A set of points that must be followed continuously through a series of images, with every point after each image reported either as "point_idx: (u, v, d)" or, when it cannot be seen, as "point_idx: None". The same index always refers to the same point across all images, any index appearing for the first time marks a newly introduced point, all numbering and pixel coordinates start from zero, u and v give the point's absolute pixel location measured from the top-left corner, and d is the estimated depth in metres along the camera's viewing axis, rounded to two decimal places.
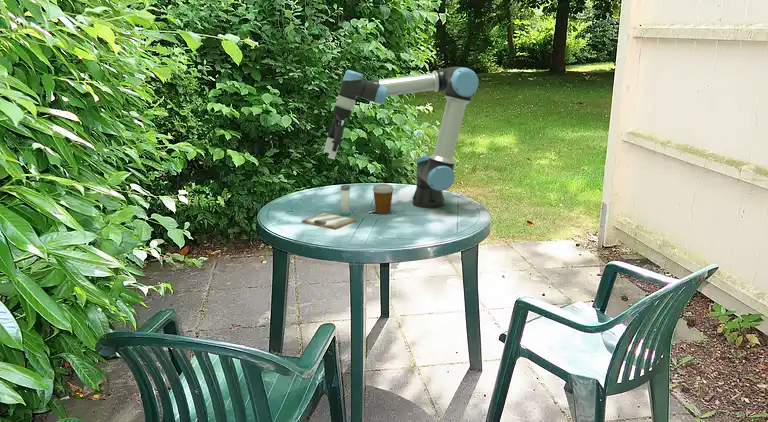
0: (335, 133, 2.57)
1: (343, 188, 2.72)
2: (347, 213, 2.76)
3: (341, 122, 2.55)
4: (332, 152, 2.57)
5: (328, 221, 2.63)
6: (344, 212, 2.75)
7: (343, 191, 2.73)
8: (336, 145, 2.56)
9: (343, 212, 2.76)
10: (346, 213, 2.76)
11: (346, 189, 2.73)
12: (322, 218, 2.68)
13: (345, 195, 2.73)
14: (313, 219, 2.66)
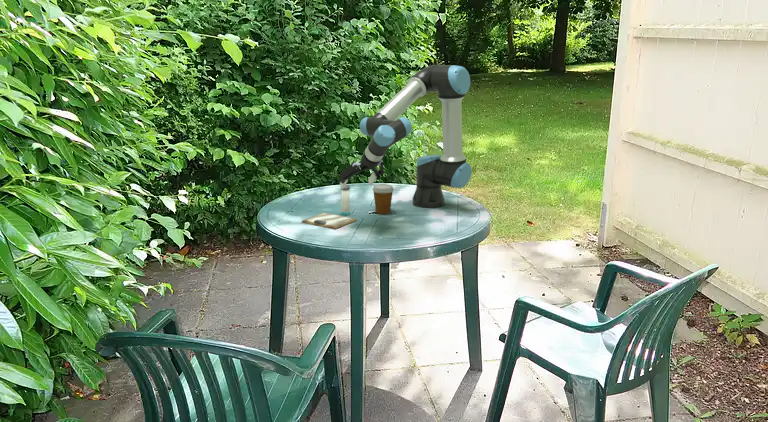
0: (376, 171, 2.59)
1: (343, 188, 2.72)
2: (347, 213, 2.76)
3: None
4: None
5: (328, 221, 2.63)
6: (344, 212, 2.75)
7: (343, 191, 2.73)
8: None
9: (343, 212, 2.76)
10: (346, 213, 2.76)
11: (346, 189, 2.73)
12: (322, 218, 2.68)
13: (345, 195, 2.73)
14: (313, 219, 2.66)
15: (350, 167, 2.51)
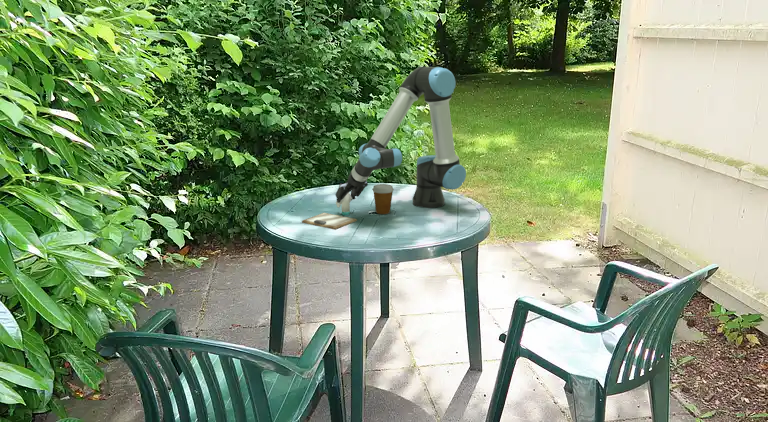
0: (356, 192, 2.72)
1: None
2: (347, 213, 2.76)
3: None
4: None
5: (328, 221, 2.63)
6: (344, 212, 2.75)
7: None
8: None
9: (343, 212, 2.76)
10: (346, 213, 2.76)
11: None
12: (322, 218, 2.68)
13: None
14: (313, 219, 2.66)
15: (339, 189, 2.66)
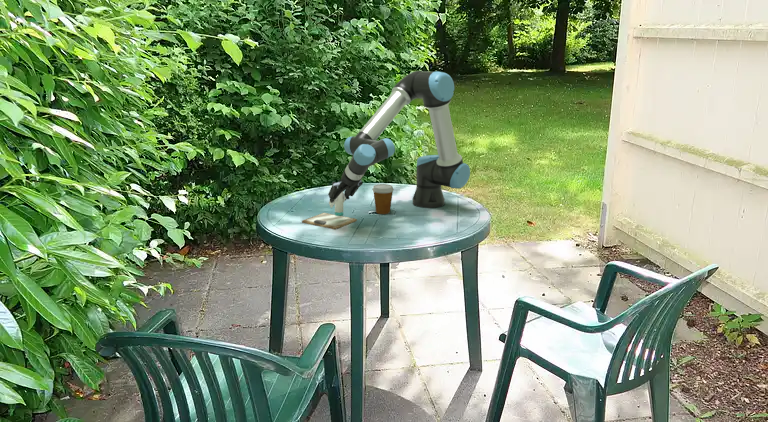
0: (350, 192, 2.58)
1: None
2: (340, 214, 2.62)
3: None
4: None
5: (328, 221, 2.63)
6: (337, 212, 2.61)
7: None
8: None
9: (336, 212, 2.62)
10: (339, 214, 2.61)
11: None
12: (322, 218, 2.68)
13: None
14: (313, 219, 2.66)
15: (332, 188, 2.52)
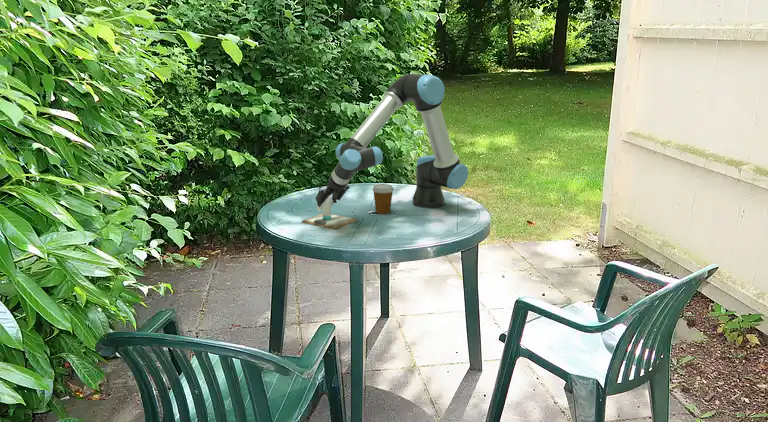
0: (337, 196, 2.61)
1: None
2: (328, 217, 2.64)
3: None
4: None
5: (328, 221, 2.63)
6: (325, 216, 2.64)
7: None
8: None
9: (324, 216, 2.64)
10: (327, 217, 2.64)
11: None
12: (322, 218, 2.68)
13: None
14: (313, 219, 2.66)
15: (319, 192, 2.55)
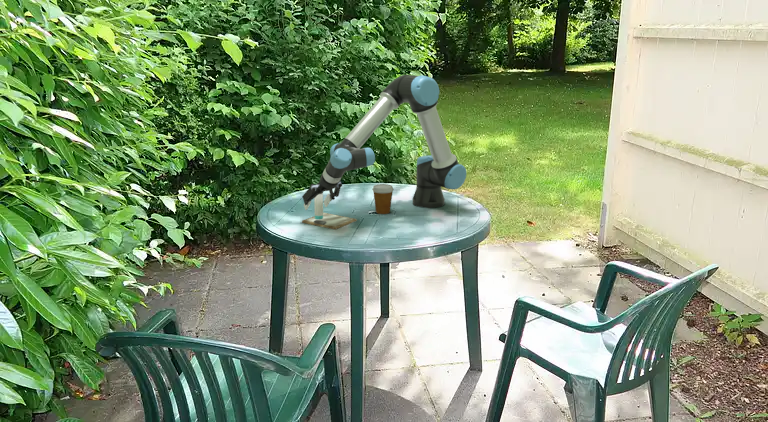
0: (332, 193, 2.63)
1: None
2: (320, 217, 2.66)
3: None
4: None
5: (328, 221, 2.63)
6: (317, 216, 2.66)
7: None
8: None
9: (316, 216, 2.66)
10: (319, 217, 2.66)
11: None
12: None
13: (318, 198, 2.64)
14: (313, 219, 2.66)
15: (310, 190, 2.55)
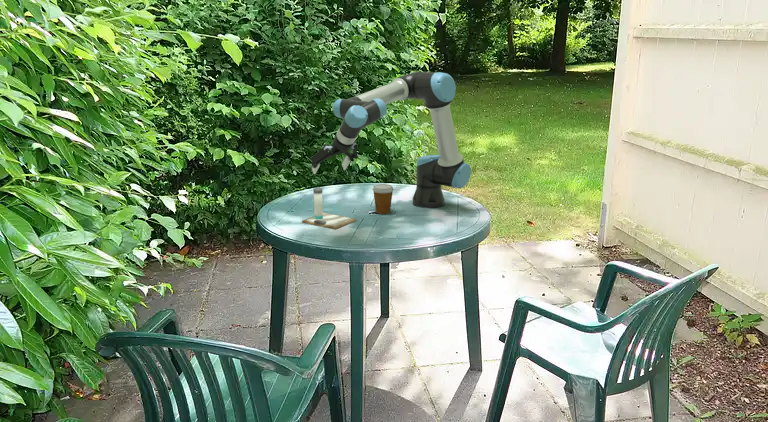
0: (350, 155, 2.47)
1: (316, 191, 2.63)
2: (320, 217, 2.66)
3: None
4: None
5: (328, 221, 2.63)
6: (317, 216, 2.66)
7: (315, 194, 2.64)
8: None
9: (316, 216, 2.66)
10: (319, 217, 2.66)
11: (318, 192, 2.63)
12: None
13: (317, 198, 2.64)
14: (313, 219, 2.66)
15: (322, 151, 2.39)
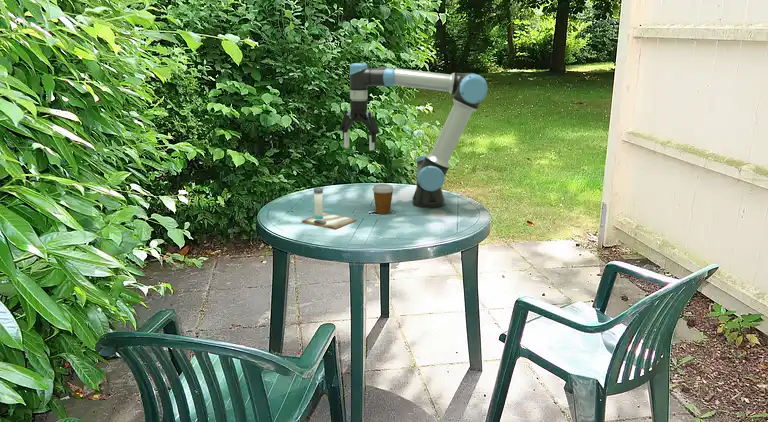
0: (367, 126, 2.68)
1: (316, 191, 2.63)
2: (320, 217, 2.66)
3: (371, 114, 2.67)
4: (372, 144, 2.70)
5: (328, 221, 2.63)
6: (317, 216, 2.66)
7: (316, 194, 2.64)
8: (375, 136, 2.69)
9: (316, 216, 2.66)
10: (319, 217, 2.66)
11: (319, 192, 2.63)
12: None
13: (317, 198, 2.64)
14: (313, 219, 2.66)
15: None
